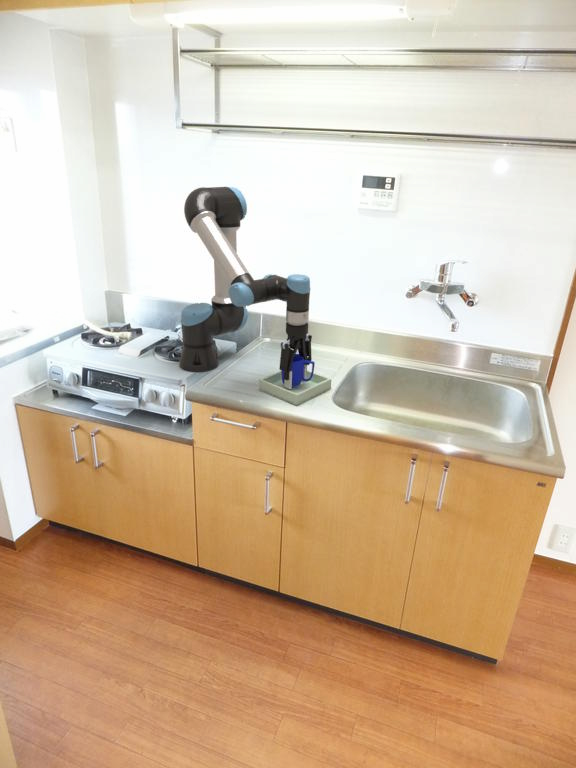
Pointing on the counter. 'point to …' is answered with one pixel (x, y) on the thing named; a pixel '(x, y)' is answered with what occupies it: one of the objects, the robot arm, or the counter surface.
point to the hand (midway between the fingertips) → (295, 384)
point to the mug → (298, 370)
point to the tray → (295, 388)
